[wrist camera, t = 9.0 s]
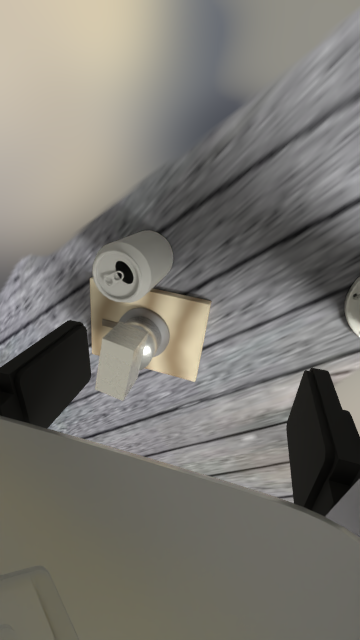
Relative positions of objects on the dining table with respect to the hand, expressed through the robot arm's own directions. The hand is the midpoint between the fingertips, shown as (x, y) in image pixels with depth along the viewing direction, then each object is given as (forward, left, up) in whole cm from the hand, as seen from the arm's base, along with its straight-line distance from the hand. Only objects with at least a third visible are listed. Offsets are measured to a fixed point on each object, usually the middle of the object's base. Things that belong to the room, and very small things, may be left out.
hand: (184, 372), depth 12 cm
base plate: (+12, +17, -30) cm, 37 cm away
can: (+12, +4, -30) cm, 33 cm away
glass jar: (+12, +17, -28) cm, 35 cm away
